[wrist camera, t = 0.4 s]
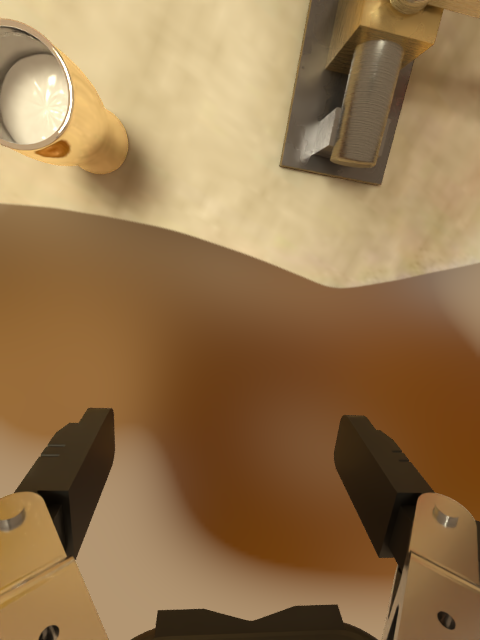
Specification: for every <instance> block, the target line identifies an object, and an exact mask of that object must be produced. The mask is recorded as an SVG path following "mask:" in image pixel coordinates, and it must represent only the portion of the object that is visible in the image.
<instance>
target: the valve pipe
mask: <svg viewBox="0 0 480 640" xmlns="http://www.w3.org/2000/svg"><path fill="white" fill-rule="evenodd" d="M443 10H444V9H443V8H440V7H436V6H432V5H429V4H427V5H426V6H425V7H424V8H423V9H422V10H421V11H419V12H417V13H414V14H403V13H400V12H399V11H397V10H396V9H395V8H394V7H393V6H392V4H391V2H390V0H310V3H309V8H308V14H307V19H306V24H305V30H304V35H303V41H302V46H301V52H300V57H299V63H298V68H297V73H296V79H295V84H294V90H293V95H292V101H291V106H290V112H289V117H288V123H287V128H286V133H285V139H284V144H283V150H282V155H281V161H280V166H281V167H286V168H291V169H296V170H302V171H307V172H312V173H317V174H322V175H327V176H332V177H337V178H342V179H347V180H352V181H357V182H362V183H367V184H373V185H381V183H382V179H383V175H384V171H385V168H386V164H387V160H388V156H389V153H390V149H391V145H392V141H393V138H394V134H395V130H396V126H397V122H398V119H399V115H400V111H401V107H402V104H403V100H404V96H405V92H406V89H407V85H408V81H409V77H410V73H411V70H412V66H413V62H414V59H415V58H417V57H418V56H419V55H420V54H422V53H423V52H424V51H426V50H427V49H428V48H430V47H431V46H432V45H433V44H434V42H435V39H436V35H437V31H438V28H439V24H440V21H441V17H442V13H443Z"/></svg>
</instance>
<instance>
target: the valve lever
mask: <svg viewBox="0 0 480 640" xmlns="http://www.w3.org/2000/svg"><path fill="white" fill-rule="evenodd" d="M390 2H391V4H392V6H393V7H394V8H395V9H396V10H397V11H399V12H400V13H403V14H414V13H417V12H419V11H421V10H422V9H423V8H424V7H425V6H426V5H427V4H429V5H432V6H436V7H440V8H443V9H447V10H450V11H454V12H458V13H461V14H465V15H469V16H472V17H476V18H480V0H390Z"/></svg>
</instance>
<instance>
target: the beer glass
mask: <svg viewBox="0 0 480 640" xmlns="http://www.w3.org/2000/svg"><path fill="white" fill-rule="evenodd" d="M0 144H1V145H3V146H5V147H8V148H10V149H12V150H14V151H16V152H19V153H21V154H23V155H25V156H27V157H30V158H32V159H35V160H38V161H41V162H44V163H48V164H52V165H58V166H77V165H78V166H79V167H81V168H82V169H84V170H86V171H88V172H90V173H94V174H107V173H110V172H113V171H115V170H116V169H118V168H119V167H120V166H121V165H122V163H123V162H124V160H125V158H126V156H127V153H128V137H127V133H126V130H125V128H124V126H123V124H122V123H121V121H120V120H119V119H118V118H117V117H116V116H115V115H114V114H113V113H112V112H110V111H109V110H107V109H105V107H104V105H103V102H102V100H101V98H100V97H99V95H98V93H97V91H96V89H95V88H94V86H93V85H92V83H91V82H90V81H89V79H88V78H87V77H86V76H85V74H84V73H83V72H82V71H81V70H80V68H79V67H78V66H77V65H76V64H75V63H74V62H73V61H72V60H71V59H69V58H68V57H67V56H66V55H65V54H64V53H63V52H62V51H60V50H59V49H58V48H57V47H56V46H54V45H53V44H52V43H51V42H50V41H49V40H48V39H47V38H46V37H45V36H44V35H42V34H41V33H40V32H38V31H37V30H36V29H34V28H32V27H30V26H28V25H26V24H24V23H22V22H19V21H15V20H11V19H1V18H0Z"/></svg>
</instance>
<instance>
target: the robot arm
mask: <svg viewBox="0 0 480 640" xmlns="http://www.w3.org/2000/svg"><path fill="white" fill-rule="evenodd" d="M114 453H115V436H114V412H113V409H112V408H88V409H87V411H86V412H85V414H84V416H83V417H82V419H81V420H80V422H79V423H69V424H67V425H66V426H65V427H63V428H62V429H61V430H59V431H58V432H56V434H55V435H54V437H53V438H52V439H51V441H50V442H49V444H48V446H47V447H46V448H45V449H44V451H43V452H42V453H41V457H39V458H38V459H37V461H36V462H35V464H34V465H33V466H32V468H31V469H30V471H29V472H28V474H27V475H26V476H25V478H24V479H23V481H22V482H21V484H20V485H19V487H18V488H17V489H16V491H15V492H14V494H10V495H7V496H5V497H3V498H0V640H109V639H108V637H107V634H106V632H105V630H104V627H103V625H102V623H101V620H100V618H99V615H98V613H97V611H96V608H95V606H94V604H93V601H92V599H91V596H90V594H89V592H88V589H87V587H86V585H85V583H84V580H83V578H82V575H81V573H80V571H79V568H78V566H77V564H76V561H75V560H76V557H77V555H78V552H79V549H80V547H81V544H82V542H83V539H84V537H85V534H86V532H87V529H88V527H89V524H90V521H91V519H92V516H93V514H94V511H95V508H96V506H97V503H98V501H99V498H100V496H101V493H102V490H103V488H104V485H105V483H106V480H107V478H108V475H109V472H110V470H111V467H112V464H113V459H114ZM334 461H335V466H336V469H337V471H338V474H339V475H340V478H341V480H342V482H343V484H344V486H345V488H346V490H347V492H348V494H349V496H350V499H351V501H352V503H353V505H354V507H355V509H356V511H357V513H358V515H359V517H360V519H361V521H362V524H363V526H364V527H365V530H366V532H367V534H368V536H369V538H370V540H371V542H372V544H373V546H374V548H375V551H376V553H377V555H378V557H379V558H393V557H394V558H395V560H396V562H397V564H398V566H397V569H396V572H395V577H394V582H393V587H392V592H391V597H390V602H389V607H388V612H387V617H386V622H385V627H384V632H383V636H382V640H480V522H479V521H475V520H474V518H473V517H472V515H471V514H470V513H469V512H468V511H467V510H466V509H465V508H464V507H463V506H462V505H460V504H459V503H458V502H456V501H454V500H453V499H451V498H449V497H446V496H444V495H441V494H437V493H435V492H434V491H433V490H432V489H431V487H430V486H429V485H428V483H427V482H426V481H425V480H424V478H423V477H422V476H421V475H420V473H419V472H418V471H417V469H416V468H415V467H414V466H413V464H412V463H411V462H409V460H408V458H407V457H406V456H405V454H404V453H402V451H401V449H400V448H399V447H398V445H397V444H396V443H395V442H394V440H393V439H391V438H390V437H388V436H387V435H386V434H384V433H383V432H382V431H380V430H376V429H375V428H374V427H373V425H372V424H371V423H370V421H369V420H368V419H367V417H365V416H356V415H355V416H354V415H344V416H342V418H341V421H340V425H339V431H338V436H337V440H336V446H335V451H334ZM131 640H377V639H376V638H375V637H373V636H372V635H370V634H368V633H367V632H365V631H363V630H361V629H359V628H357V627H355V626H352V625H350V624H347V623H343V621H342V617H341V615H340V611H339V609H338V605H311V606H294V607H291V608H288V609H285V610H283V611H280V612H277V613H274V614H271V615H269V616H266V617H263V618H260V619H257V620H254V621H248V620H243V619H240V618H235V617H232V616H228V615H224V614H220V613H217V612H213V611H210V610H206V609H187V610H158V614H157V621H156V628H155V629H152V630H149V631H147V632H144V633H143V634H140V635H138V636H136V637H134V638H133V639H131Z"/></svg>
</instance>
